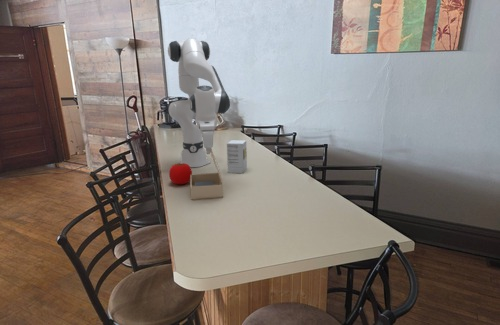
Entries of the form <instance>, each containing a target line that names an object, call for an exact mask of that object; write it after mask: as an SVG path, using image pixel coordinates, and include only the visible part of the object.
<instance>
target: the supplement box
mask: <svg viewBox="0 0 500 325" xmlns="http://www.w3.org/2000/svg"><path fill="white" fill-rule="evenodd" d="M247 152H248V151H247V140H246V139H245V140H237V139H235V140H234V139H232V140H229V141H228V142H227V143H226V157H227V158H226V159H227V160H226V162H227V173H230V174H231V173H232V174H244V173H245V172H246V170H247V169H248V161H247V157H248V156H247Z"/></svg>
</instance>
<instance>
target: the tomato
mask: <svg viewBox="0 0 500 325" xmlns="http://www.w3.org/2000/svg"><path fill="white" fill-rule="evenodd" d="M168 173H169V174H168V176H169V179H170V181H171V182H172V183H173V184H175V185H186V184H188V183H189V182H190V175H193V170H192V167H190V166H189V165H188V164H184V163H182V164H180V162H179V163H177V164H176V163H175V164H173V165H172V166H171V167H170V169H169V172H168Z"/></svg>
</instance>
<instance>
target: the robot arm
mask: <svg viewBox="0 0 500 325" xmlns="http://www.w3.org/2000/svg"><path fill="white" fill-rule="evenodd" d="M167 54H168V57H169V59H170V61H172V62H176V63H178V70H177V71H178V87H179V90H180V91H181V92H182V93H184V94H187V95H188V98H189V99H185V100H184V99H183V100H176V101H173V102H171V103H170V104H169V106H168V113H169V116H170V118H171V119H173V120H174V121H176V122H177V124H178V125H179V126H180V130H181V132H182V140H183V141H182V148H183V149H182V150H181V152H180V156H181V158H180V159H181V160H180V161H179V163H180V164H182V163H184V164H188V165H189V166H190V168H199V167H203V166H205V165H209V164H211V161H210V160H209V159H208V158H207V155H211V152H210V148H211V149H212V148H213V147H214V134H215V133H214V132H215V130H216V128H217V126H218V125H217V114H220V115H221V114H223V115H224V114H225V113H227V112H228V110H229V109H230V107H231V100H230V97H229V95H228V93H227V92H226V90H225V87H224V86H223V84H222V81H221V79H220V76H219V74H218V72H217V70H216V68H215V67H214V66H213V65H212V64H210V63H209V61H208V60H209V58H210V55H211V48H210V45H209V43H208V42H206V41H204V40H200V41H199V40H198V39H196V38H188V39H186V40H178V41H177V40H174V41H170V42H169V43H168V47H167ZM200 79H201V80H205V81H207V82H209V83H210V85H211V86H210V85H200V82H199V80H200ZM193 119H196V120H195V121H196V124H195V123H193Z"/></svg>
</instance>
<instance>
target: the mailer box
mask: <svg viewBox="0 0 500 325" xmlns="http://www.w3.org/2000/svg"><path fill="white" fill-rule="evenodd" d="M189 182H190V184H189V185H190V200H191V201H193V200H194V201H195V200H197V201H198V200H207V199H219V198H224V194H223V192H224V190H223V184H222V181H221V179H220V176H219V174H218V172H211V173H198V174H197V173H196V174H195V173H192V175H190V181H189Z"/></svg>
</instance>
